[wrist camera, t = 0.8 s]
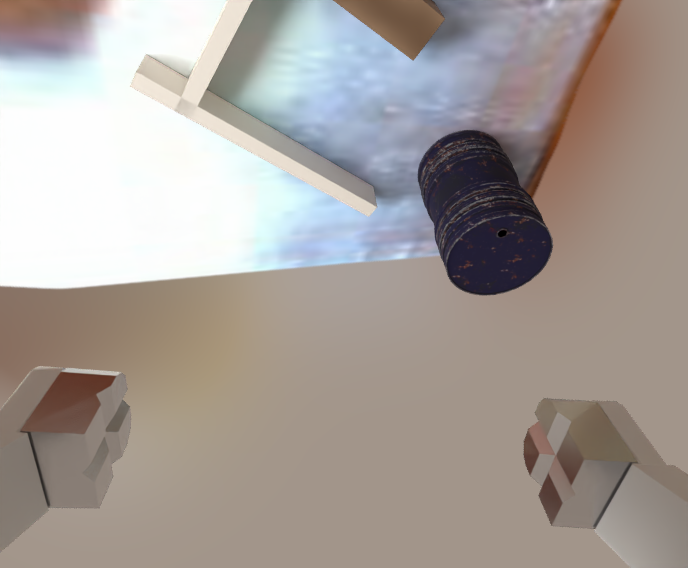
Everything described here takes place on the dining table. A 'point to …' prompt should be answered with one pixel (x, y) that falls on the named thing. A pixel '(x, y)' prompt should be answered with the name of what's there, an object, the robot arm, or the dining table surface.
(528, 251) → the rusty oil barrel
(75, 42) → the dining table surface
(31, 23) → the dining table surface
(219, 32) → the corner fence
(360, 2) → the t block
